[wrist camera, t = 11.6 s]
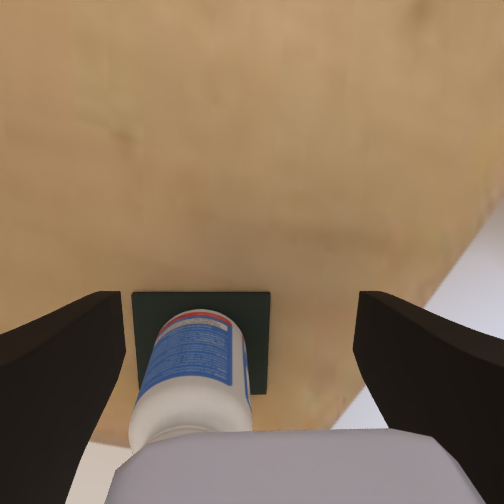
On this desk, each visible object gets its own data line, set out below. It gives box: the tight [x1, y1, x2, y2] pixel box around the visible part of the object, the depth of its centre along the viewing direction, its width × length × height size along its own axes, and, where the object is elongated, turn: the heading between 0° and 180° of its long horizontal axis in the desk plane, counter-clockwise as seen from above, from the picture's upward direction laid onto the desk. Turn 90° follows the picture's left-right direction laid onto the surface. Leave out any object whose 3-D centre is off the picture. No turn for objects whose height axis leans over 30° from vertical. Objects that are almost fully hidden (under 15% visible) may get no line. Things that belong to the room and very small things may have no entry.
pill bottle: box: [129, 309, 253, 455], centre depth 18 cm, size 6×5×10 cm
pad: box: [131, 292, 270, 395], centre depth 23 cm, size 8×7×1 cm
